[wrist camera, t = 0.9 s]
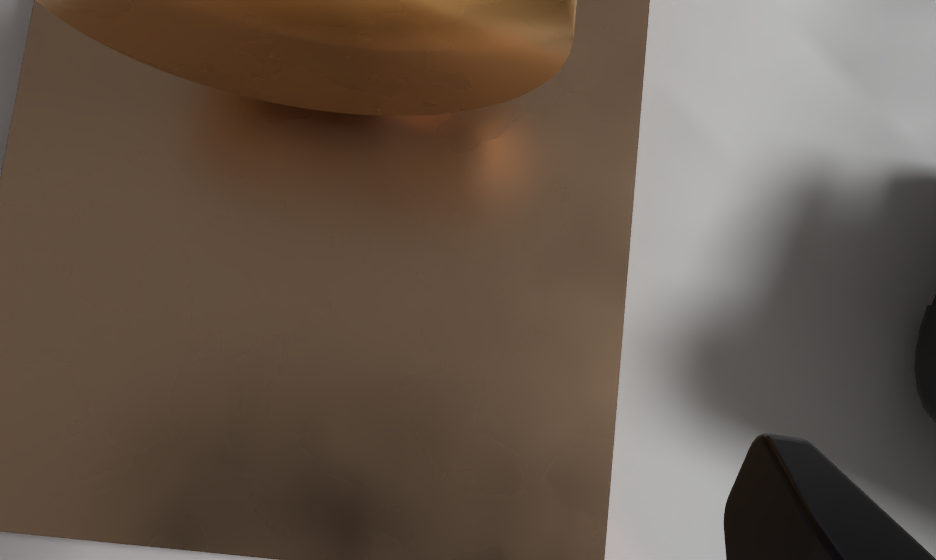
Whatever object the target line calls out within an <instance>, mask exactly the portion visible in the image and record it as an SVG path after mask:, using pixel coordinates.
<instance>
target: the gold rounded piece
mask: <svg viewBox="0 0 936 560" xmlns="http://www.w3.org/2000/svg"><path fill="white" fill-rule="evenodd" d="M36 1H37V2H38V3H40V4H41V5H42V6H44V7H45V8H46V9H48V10H49V11H50V12H51V13H53V14H54V15H55V16H57V17H58V18H59V19H61V20H62V21H64V22H66V23H67V24H69V25H70V26H72V27H73V28H75V29H77V30H78V31H80V32H81V33H83V34H85V35H86V36H88V37H90V38H92V39H94V40H96V41H97V42H99V43H101V44H103V45H105V46H107V47H109V48H111V49H113V50H115V51H117V52H119V53H121V54H123V55H125V56H128V57H130V58H132V59H134V60H136V61H139V62H141V63H144V64H146V65H149V66H151V67H153V68H156V69H158V70H161V71H164V72H166V73H169V74H172V75H175V76H177V77H180V78H183V79H186V80H189V81H192V82H195V83H198V84H202V85H205V86H208V87H211V88H215V89H218V90H222V91H226V92H229V93H233V94H237V95H241V96H245V97H249V98H254V99H258V100H263V101H267V102H272V103H277V104H283V105H288V106H293V107H299V108H306V109H313V110H320V111H327V112H337V113H347V114H360V115H377V116H418V115H436V114H446V113H456V112H462V111H468V110H475V109H480V108H484V107H488V106H492V105H496V104H500V103H503V102H506V101H509V100H512V99H515V98H518V97H520V96H522V95H524V94H526V93H528V92H530V91H533V90H535V89H536V88H538V87H539V86H541V85H542V84H544V83H545V82H547V81H548V80H550V79H551V78H552V77H553V76H554V75H555V74H556V73H557V72H558V71H559V70H560V69H561V68H562V66H563V65H564V63H565V61H566V60H567V58H568V56H569V54H570V51H571V47H572V43H573V37H574V27H575V16H576V5H577V0H36Z"/></svg>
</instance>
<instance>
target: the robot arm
mask: <svg viewBox="0 0 936 560" xmlns="http://www.w3.org/2000/svg"><path fill="white" fill-rule="evenodd" d="M724 533H725V546H726V558H727V560H936V559H935V558H934V557H933V556H932V555H931V554H930V553H929V552H928V551H927V550H925V549H924V548H923V547H922V546H921V545H920V544H919V543H918V542H917V541H916V540H915V539H914V538H912V537H911V536H910V535H909V534H908V533H907V532H906V531H905V530H904V529H903V528H902V527H901V526H900V525H898V524H897V523H896V522H895V521H894V520H893V519H892V518H891V517H890V516H889V515H888V514H887V513H886V512H884V511H883V510H882V509H881V508H880V507H879V506H878V505H877V504H876V503H875V502H874V501H873V500H872V499H870V498H869V497H868V496H867V495H866V494H865V493H864V492H863V491H862V490H861V489H860V488H859V487H857V486H856V485H855V484H854V483H853V482H852V481H851V480H850V479H849V478H848V477H847V476H846V475H845V474H843V473H842V472H841V471H840V470H839V469H838V468H837V467H836V466H835V465H834V464H833V463H832V462H831V461H829V460H828V459H827V458H826V457H825V456H824V455H823V454H822V453H821V452H820V451H819V450H818V449H817V448H815V447H814V446H813V445H812V444H811V443H809V442H808V441H806V440H803V439H799V438H793V437H787V436H781V435H775V434H768V433H765V434H762V435H760V436H758V437H757V438H756V439H755V440H754V441H753V443H752V444H751V446H750V448H749V451H748V453H747V455H746V458H745V460H744V462H743V464H742V467H741V469H740V471H739V474H738V476H737V478H736V480H735V483H734V485H733V487H732V490H731V492H730V494H729V497H728V499H727V503H726V507H725V513H724Z"/></svg>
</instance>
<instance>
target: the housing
mask: <svg viewBox="0 0 936 560" xmlns="http://www.w3.org/2000/svg"><path fill="white" fill-rule="evenodd" d="M649 3H650V0H577V5H576V16H575V27H574V37H573V43H572V47H571V51H570V54H569V56H568V58H567V60H566V61H565V63H564V65H563V66H562V68H561V69H560V70H559V71H558V72H557V73H556V74H555V75H554V76H553V77H552V78H551V79H550V80H548V81H547V82H545V83H544V84H542V85H541V86H539V87H538V88H536V89H535V90H533V91H530V92H528V93H526V94H524V95H522V96H520V97H518V98H515V99H512V100H509V101H506V102H503V103H500V104H496V105H492V106H488V107H484V108H480V109H475V110H468V111H462V112H456V113H446V114H436V115H418V116H377V115H360V114H347V113H337V112H327V111H320V110H313V109H306V108H299V107H293V106H288V105H283V104H277V103H272V102H267V101H263V100H258V99H254V98H249V97H245V96H241V95H237V94H233V93H229V92H226V91H222V90H218V89H215V88H211V87H208V86H205V85H202V84H198V83H195V82H192V81H189V80H186V79H183V78H180V77H177V76H175V75H172V74H169V73H166V72H164V71H161V70H158V69H156V68H153V67H151V66H149V65H146V64H144V63H141V62H139V61H136V60H134V59H132V58H130V57H128V56H125V55H123V54H121V53H119V52H117V51H115V50H113V49H111V48H109V47H107V46H105V45H103V44H101V43H99V42H97V41H96V40H94V39H92V38H90V37H88V36H86V35H85V34H83V33H81V32H80V31H78V30H77V29H75V28H73V27H72V26H70V25H69V24H67V23H66V22H64V21H62V20H61V19H59V18H58V17H57V16H55V15H54V14H53V13H51V12H50V11H49V10H48V9H46V8H45V7H44V6H42V5H41V4H40V3H38V2H37V1H36V0H34V5H33V10H32V16H31V21H30V26H29V31H28V37H27V42H26V47H25V52H24V58H23V63H22V68H21V73H20V79H19V84H18V89H17V94H16V100H15V105H14V110H13V115H12V121H11V126H10V131H9V136H8V142H7V147H6V152H5V157H4V163H3V168H2V173H1V179H0V531H1V532H11V533H21V534H31V535H40V536H50V537H60V538H70V539H80V540H90V541H100V542H110V543H120V544H130V545H140V546H150V547H160V548H170V549H180V550H190V551H200V552H210V553H220V554H230V555H240V556H250V557H259V558H269V559H279V560H604V556H605V544H606V532H607V519H608V507H609V495H610V483H611V470H612V458H613V446H614V433H615V421H616V409H617V396H618V384H619V372H620V360H621V347H622V335H623V323H624V310H625V298H626V286H627V273H628V261H629V249H630V236H631V224H632V212H633V200H634V187H635V175H636V163H637V150H638V138H639V126H640V113H641V101H642V89H643V76H644V64H645V52H646V40H647V27H648V15H649Z"/></svg>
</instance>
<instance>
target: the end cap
mask: <svg viewBox="0 0 936 560" xmlns="http://www.w3.org/2000/svg"><path fill="white" fill-rule="evenodd" d="M914 371H915V379H916V387H917V392H918V395H919V397H920V400H921V403H922V405H923V408H924V409H925V410H926V412H927V413H928V414H929V416H930V417H931V418H932V419H933V421H934V422H935V423H936V296H935V298H934V301H933V303H932V305H929V306H927V308H926V312H925V315H924V318H923V321H922V324H921V327H920V330H919V335H918V340H917V345H916V350H915V368H914Z"/></svg>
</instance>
